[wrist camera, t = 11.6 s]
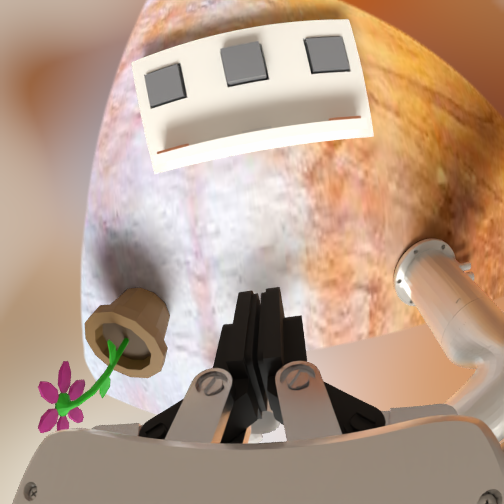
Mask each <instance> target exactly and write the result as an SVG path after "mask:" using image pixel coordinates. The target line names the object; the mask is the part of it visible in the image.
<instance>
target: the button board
mask: <svg viewBox="0 0 504 504" xmlns="http://www.w3.org/2000/svg"><path fill="white" fill-rule="evenodd" d="M322 37H342V40H343V44H344V48H345V52H346V56H347V60H348V65H349V69H348V70H347V71H345V72H333V73H319V74H311V71H310V67H309V62H308V58H307V54H306V50H305V46H304V43H305V40H306V39H307V38H322ZM256 41H259V45H260V50H261V54H262V58H263V63H264V67H265V72H266V78H267V79H264V80H258V81H253V82H247V83H242V84H237V85H232V86H230V85H229V84H228V82H227V79H226V74H225V70H224V65H223V60H222V56H221V51H220V49H221V48H226V47H230V46H235V45H240V44H245V43H250V42H256ZM131 64H132V70H133V76H134V82H135V87H136V93H137V98H138V103H139V108H140V113H141V118H142V122H143V127H144V132H145V136H146V141H147V145H148V149H149V153H150V158H151V162H152V166H153V170H154V174H157V173H161V172H164V171H168V170H172V169H176V168H180V167H184V166H188V165H192V164H196V163H201V162H205V161H210V160H214V159H219V158H224V157H228V156H233V155H238V154H244V153H249V152H254V151H260V150H266V149H272V148H278V147H284V146H291V145H298V144H305V143H313V142H321V141H330V140H339V139H349V138H361V137H374V135H373V128H372V121H371V114H370V108H369V103H368V97H367V92H366V87H365V82H364V77H363V72H362V68H361V63H360V59H359V55H358V51H357V47H356V43H355V39H354V36H353V32H352V29H351V25H350V22H349V20H347V19H340V20H311V21H298V22H287V23H278V24H271V25H264V26H257V27H251V28H246V29H241V30H236V31H231V32H226V33H222V34H217V35H213V36H209V37H205V38H202V39H198V40H194V41H191V42H188V43H184V44H181V45H178V46H175V47H172V48H169V49H166V50H163V51H160V52H157V53H154V54H152V55H149V56H146V57H144V58H141V59H139V60H136V61H134V62H132V63H131ZM175 64H178V65H179V66H181V68H182V73H183V78H184V83H185V88H186V92H187V97H188V98H184V99H181V100H177V101H174V102H171V103H168V104H165V105H161V106H158V107H155V106H150V101H149V96H148V91H147V86H146V80H145V75H146V74H149V73H152V72H155V71H157V70H160V69H163V68H166V67H169V66H172V65H175Z"/></svg>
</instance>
